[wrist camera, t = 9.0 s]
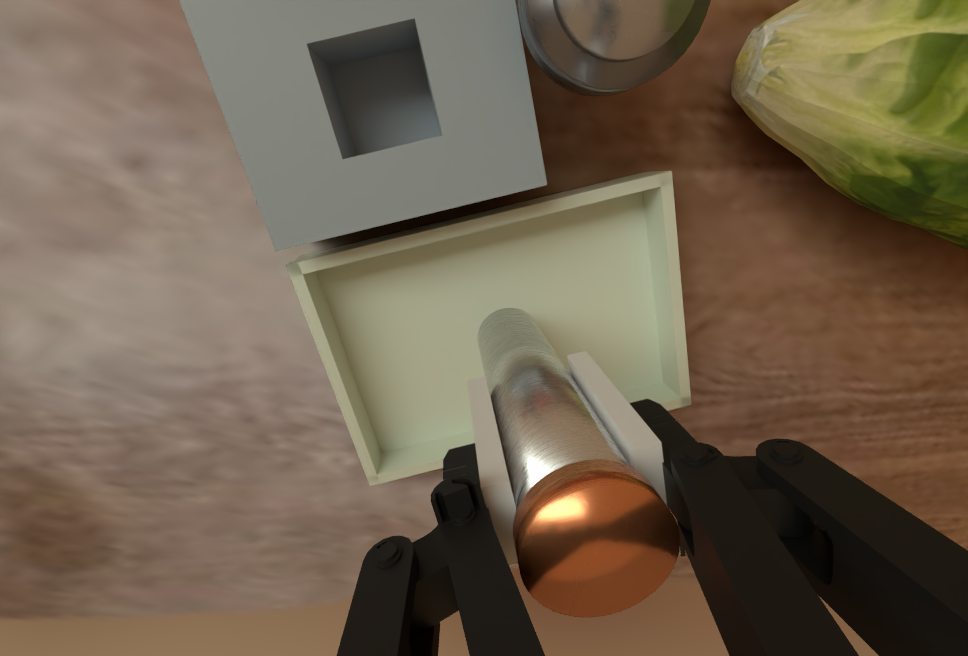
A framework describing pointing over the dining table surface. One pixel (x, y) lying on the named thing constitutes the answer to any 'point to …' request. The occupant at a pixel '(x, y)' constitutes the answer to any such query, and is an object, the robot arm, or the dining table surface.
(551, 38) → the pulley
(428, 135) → the block
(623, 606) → the pin
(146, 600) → the dining table surface
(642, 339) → the tray
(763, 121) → the lettuce
